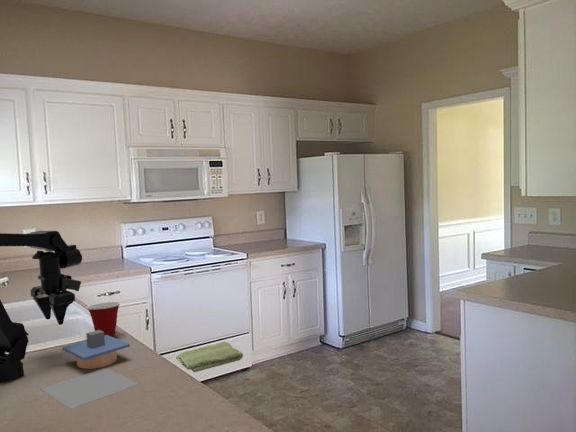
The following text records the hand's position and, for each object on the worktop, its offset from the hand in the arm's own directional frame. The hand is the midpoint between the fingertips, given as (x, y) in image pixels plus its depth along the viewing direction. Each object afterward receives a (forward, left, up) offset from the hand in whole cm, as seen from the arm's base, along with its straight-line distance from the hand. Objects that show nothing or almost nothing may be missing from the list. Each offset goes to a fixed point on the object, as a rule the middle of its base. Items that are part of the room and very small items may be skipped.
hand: (54, 321), depth 157 cm
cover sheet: (+6, -14, -7) cm, 17 cm away
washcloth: (+29, -38, -13) cm, 50 cm away
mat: (-4, -30, -12) cm, 33 cm away
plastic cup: (+20, +8, -12) cm, 25 cm away
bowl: (+6, -14, -12) cm, 19 cm away
